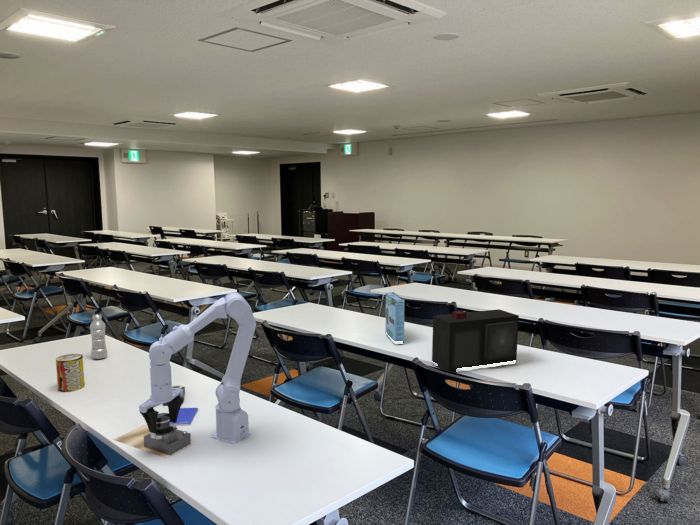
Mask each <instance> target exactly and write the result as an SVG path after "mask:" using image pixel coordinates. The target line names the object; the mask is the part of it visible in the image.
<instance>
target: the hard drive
mask: <svg viewBox="0 0 700 525" xmlns="http://www.w3.org/2000/svg"><path fill="white" fill-rule="evenodd" d="M198 412H199V408H198V407H180V410H179V413H178V417H177V422H176V423H173V422H170V424H172V425H175V426H176V427H178V426H191V425H192V423H193V421H194V419H195V417H196V415H197V413H198Z"/></svg>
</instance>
